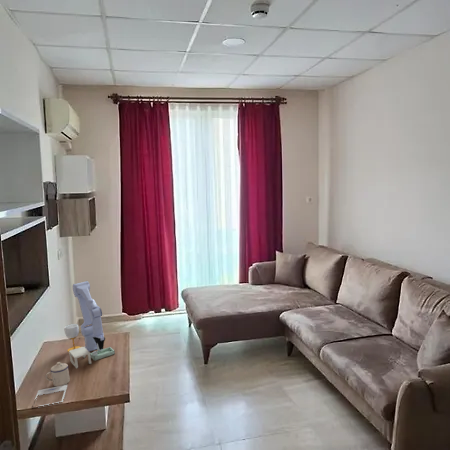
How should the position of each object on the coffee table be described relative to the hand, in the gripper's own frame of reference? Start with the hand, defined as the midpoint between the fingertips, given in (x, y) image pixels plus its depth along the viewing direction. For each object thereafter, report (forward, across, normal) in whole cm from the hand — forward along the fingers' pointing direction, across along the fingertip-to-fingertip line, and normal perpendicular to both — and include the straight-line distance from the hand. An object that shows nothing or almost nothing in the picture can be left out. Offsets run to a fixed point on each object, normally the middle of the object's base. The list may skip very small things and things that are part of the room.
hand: (100, 348), depth 259 cm
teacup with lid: (+5, +18, -30) cm, 35 cm away
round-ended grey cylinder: (+2, 0, 0) cm, 2 cm away
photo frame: (+6, +30, -37) cm, 48 cm away
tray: (+5, 0, +1) cm, 5 cm away
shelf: (+5, 0, -13) cm, 14 cm away
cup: (+5, -24, -10) cm, 26 cm away
